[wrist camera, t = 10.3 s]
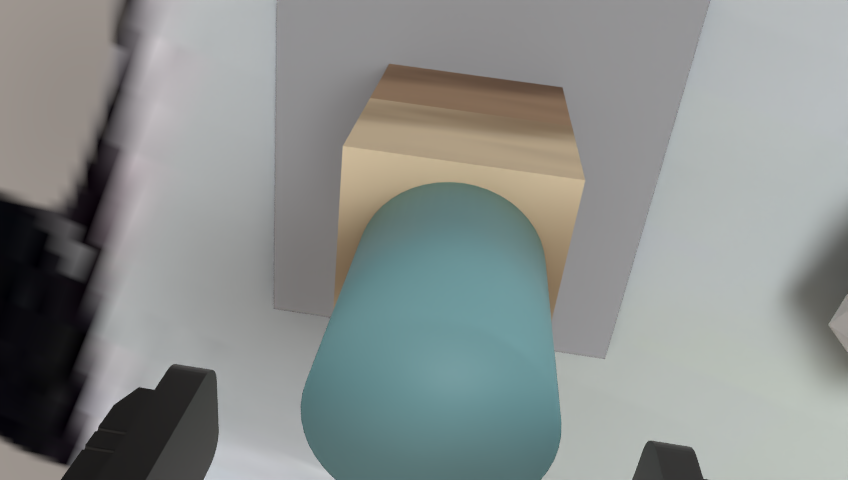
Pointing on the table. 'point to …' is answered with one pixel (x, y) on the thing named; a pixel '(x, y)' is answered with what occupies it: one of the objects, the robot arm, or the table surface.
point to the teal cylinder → (439, 347)
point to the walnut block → (473, 94)
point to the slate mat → (497, 58)
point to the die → (841, 323)
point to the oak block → (460, 171)
